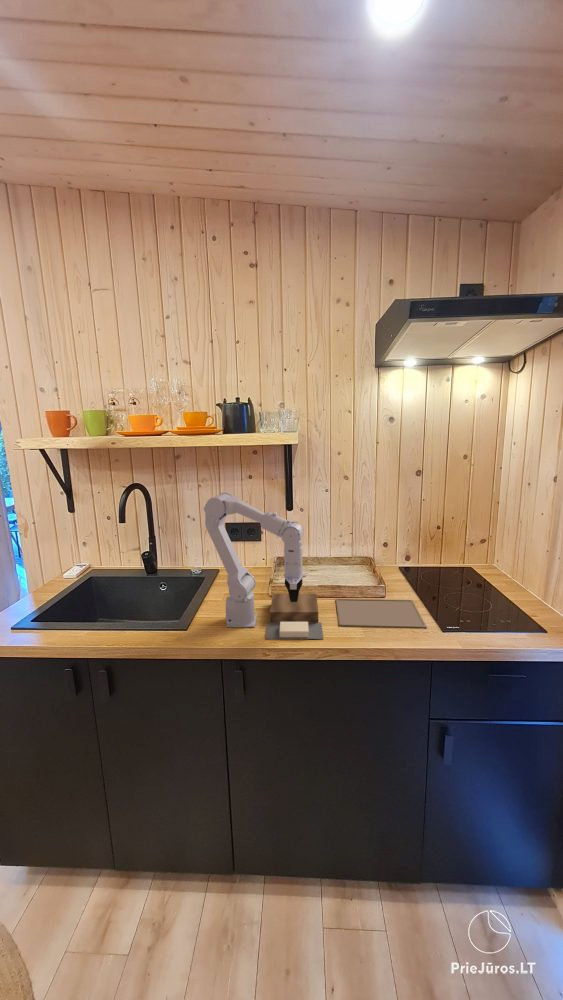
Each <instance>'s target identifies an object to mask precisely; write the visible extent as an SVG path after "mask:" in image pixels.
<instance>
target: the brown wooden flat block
mask: <svg viewBox="0 0 563 1000" xmlns="http://www.w3.org/2000/svg"><path fill="white" fill-rule="evenodd" d="M271 596H272V597H271V603H270V610H269V614H270V615H269V616H270V617H269V619H270V621H269V622H319V605H318V596H317V593H299V595H298V600H297V602H291V601H290V598H289V593H272V595H271Z"/></svg>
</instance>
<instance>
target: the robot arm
mask: <svg viewBox="0 0 563 1000" xmlns="http://www.w3.org/2000/svg"><path fill="white" fill-rule="evenodd" d="M203 511H204V515H205V517H204V519H205V520H204V523H205V524H204V526H205V528H206V530H207V532H208V534H209V537H210V539H211V541H212V543H213V545H214V547H215V550H216V552H217V554H218V556H219V558H220V560H221V562H222V565H223V567H224V569H225V571H226V573H227V579H226V584H227V586H228V587H227V588H228V595H229V596H227V597H226V598H225V623H226V624H225V627H226V628H255V626H256V621H257V617H258V614H255V599H254V598H255V594H254V592H253V591H254V590H253V589H255V587H256V585H257V584H256V578H255V577H254V575H252V574H251V572H250V571H249V569H248V568H247V567H244V566H243V565H242V562H241V560H240V557H239V556H238V554H237V552H236V549H235V546H234V545H233V543H232V541H231V539H230V537H229V533H228V532H227V529H226V527H225V525H224V522H225V520H226V518H227V517H228V516H229V515H234V514H238V515H241V516H243V517H246V518H247V519H250V520H253V521H254V522H257V523H259V524H260V527H261V529H263V530H265V531H267V532H269V533H271V534H273V535H275V536H277V537H279V538H281V539H282V542H283V544H284V545H283V554H284V555H283V556H284V560H283V566H284V569H283V570H284V573H283V578H284V586H285V587H286V589H287V594H289V598H290V601H291V602H297V600H298V595H299V594H300V590H301V588H302V586H303V578H306V577H307V573H306V572H303V540H302V537H303V535H304V532H305V531H304V530H305V529H304V527H303V525H302V524H301V523H299V522H298V521H295V520H294V521H292V520H290V519H286V518H284V517H282V516H280V515H278V512H275V511H274V512H271V511H269V512H266V513H265V512H263V511H261V510H259V509H258V508H256V507H254V506H253V505H251V504H249V503H247V502H246V501H244V500H242V499H240V498H239V497H237V496H236V495H233V494H232V493H229V492H226V491H225V492H221V493H219V494H218V495H217V496H214V497H210V498H208V499H207V501H206V503H205V505H204V507H203Z"/></svg>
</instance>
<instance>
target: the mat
mask: <svg viewBox="0 0 563 1000" xmlns="http://www.w3.org/2000/svg"><path fill="white" fill-rule="evenodd" d="M266 623H267V624H266V630H265V639H264V640H295V639H315V641H316V639H319V640H322V641H323V640H324V633H323V625H322V624H323V623H322V622H320V621H318V622H308V630H309V637H280V622H270V621H269V622H266Z"/></svg>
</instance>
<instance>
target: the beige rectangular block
mask: <svg viewBox="0 0 563 1000" xmlns="http://www.w3.org/2000/svg"><path fill="white" fill-rule="evenodd" d="M280 637H309V630H308V622H280Z"/></svg>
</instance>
